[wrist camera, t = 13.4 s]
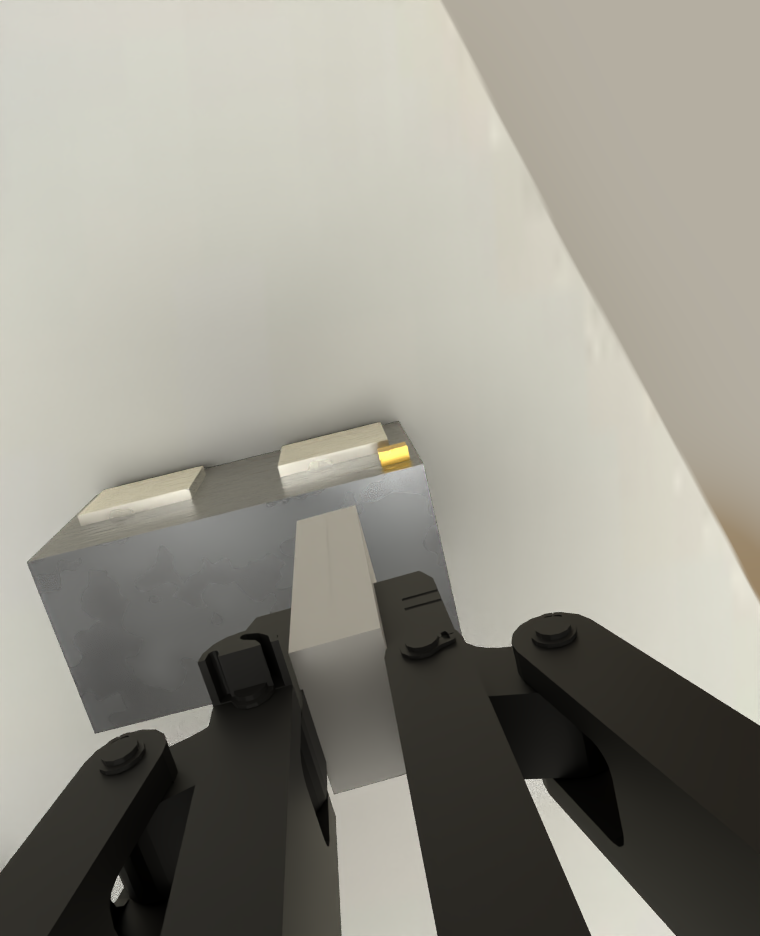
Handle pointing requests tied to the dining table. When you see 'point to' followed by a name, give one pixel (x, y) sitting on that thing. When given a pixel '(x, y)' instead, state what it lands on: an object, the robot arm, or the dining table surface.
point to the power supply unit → (218, 561)
